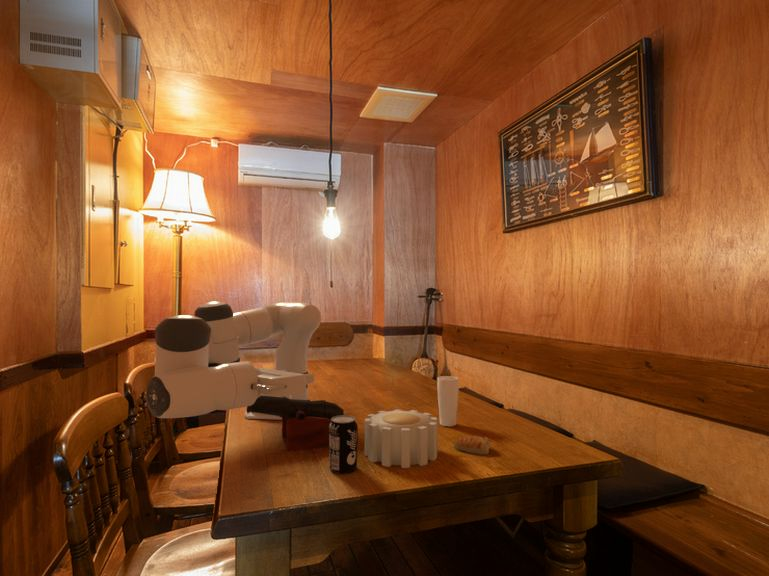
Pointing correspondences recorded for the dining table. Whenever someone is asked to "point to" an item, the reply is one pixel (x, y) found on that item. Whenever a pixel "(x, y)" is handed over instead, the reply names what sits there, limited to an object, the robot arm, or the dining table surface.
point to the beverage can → (343, 444)
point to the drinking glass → (447, 399)
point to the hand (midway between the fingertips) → (299, 375)
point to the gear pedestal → (401, 438)
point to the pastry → (473, 445)
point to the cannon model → (300, 420)
